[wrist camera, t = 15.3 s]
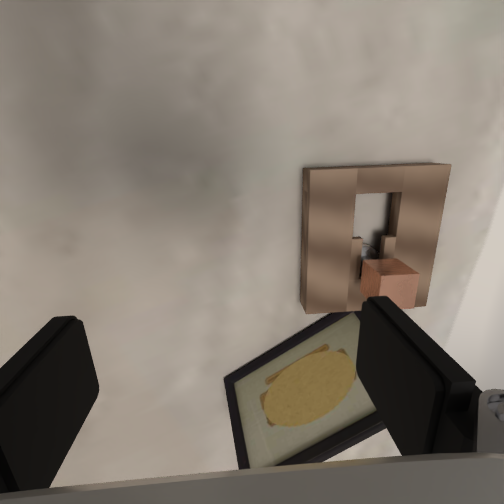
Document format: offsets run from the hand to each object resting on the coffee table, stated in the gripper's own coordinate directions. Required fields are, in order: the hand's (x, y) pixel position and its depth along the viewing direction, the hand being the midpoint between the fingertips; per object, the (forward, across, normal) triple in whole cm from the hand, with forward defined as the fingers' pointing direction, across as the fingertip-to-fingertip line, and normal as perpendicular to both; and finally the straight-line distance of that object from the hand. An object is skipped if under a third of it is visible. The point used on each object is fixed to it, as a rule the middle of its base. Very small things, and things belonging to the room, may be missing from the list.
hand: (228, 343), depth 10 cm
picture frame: (+29, -10, +24) cm, 39 cm away
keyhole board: (+28, -17, +6) cm, 33 cm away
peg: (+28, -17, +9) cm, 34 cm away
